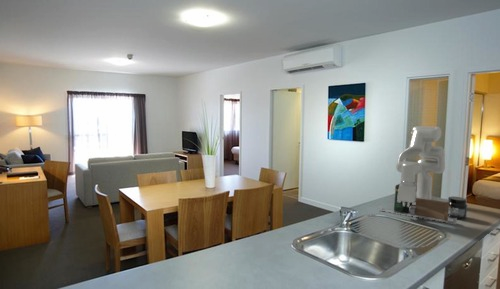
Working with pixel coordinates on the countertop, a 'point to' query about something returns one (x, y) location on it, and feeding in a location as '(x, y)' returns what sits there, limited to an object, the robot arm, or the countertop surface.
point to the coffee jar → (397, 205)
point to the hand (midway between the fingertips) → (406, 212)
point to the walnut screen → (430, 209)
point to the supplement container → (457, 207)
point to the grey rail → (417, 215)
